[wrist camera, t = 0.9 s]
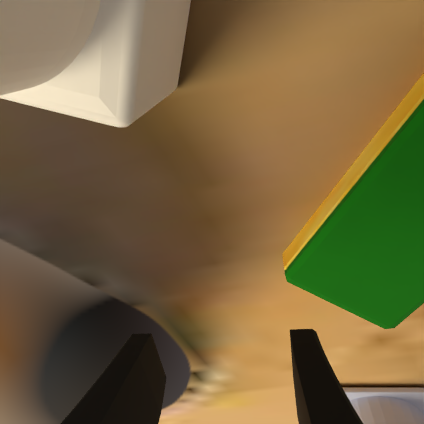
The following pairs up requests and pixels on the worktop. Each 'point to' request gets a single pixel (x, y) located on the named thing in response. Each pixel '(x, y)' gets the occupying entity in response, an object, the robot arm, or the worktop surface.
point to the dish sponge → (371, 226)
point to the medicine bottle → (92, 55)
